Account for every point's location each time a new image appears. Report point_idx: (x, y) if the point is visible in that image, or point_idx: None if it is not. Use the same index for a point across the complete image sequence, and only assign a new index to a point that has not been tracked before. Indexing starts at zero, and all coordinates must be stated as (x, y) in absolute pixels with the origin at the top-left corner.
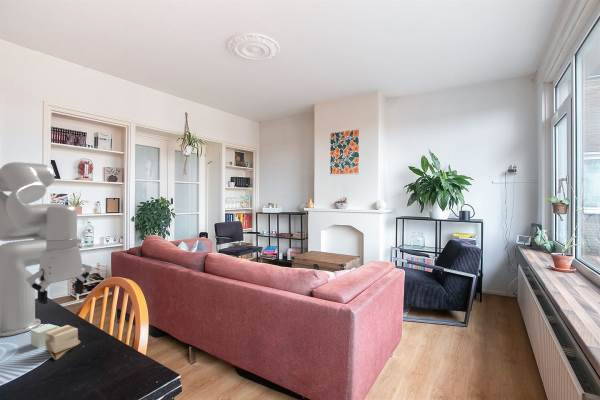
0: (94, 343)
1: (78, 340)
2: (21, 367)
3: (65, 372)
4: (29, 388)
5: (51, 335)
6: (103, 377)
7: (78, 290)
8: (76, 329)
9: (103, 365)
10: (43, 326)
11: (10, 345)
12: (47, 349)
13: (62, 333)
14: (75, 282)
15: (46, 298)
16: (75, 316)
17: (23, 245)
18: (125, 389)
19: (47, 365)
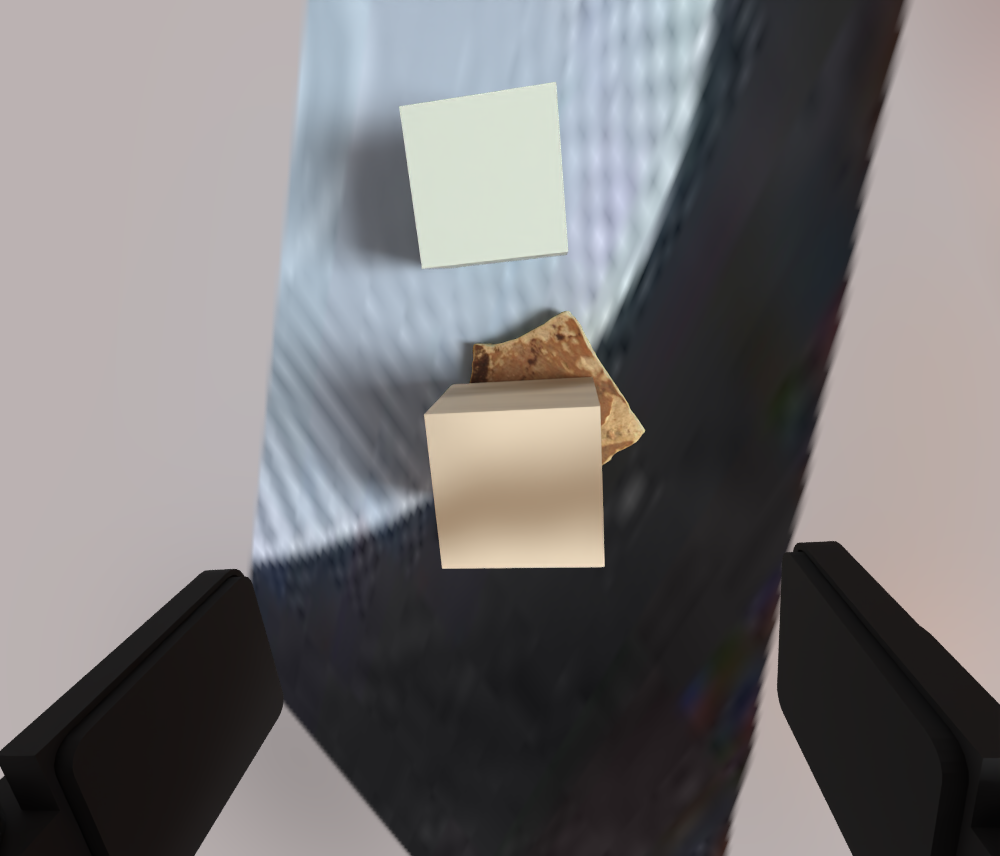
0: (685, 521)
1: (638, 423)
2: (324, 462)
3: (445, 693)
4: (312, 688)
5: (436, 516)
6: (525, 852)
7: (809, 710)
8: (594, 566)
9: (575, 778)
10: (496, 119)
11: (335, 3)
12: (473, 355)
13: (497, 553)
14: (929, 761)
15: (228, 784)
16: None
17: None
18: None
19: (414, 556)
